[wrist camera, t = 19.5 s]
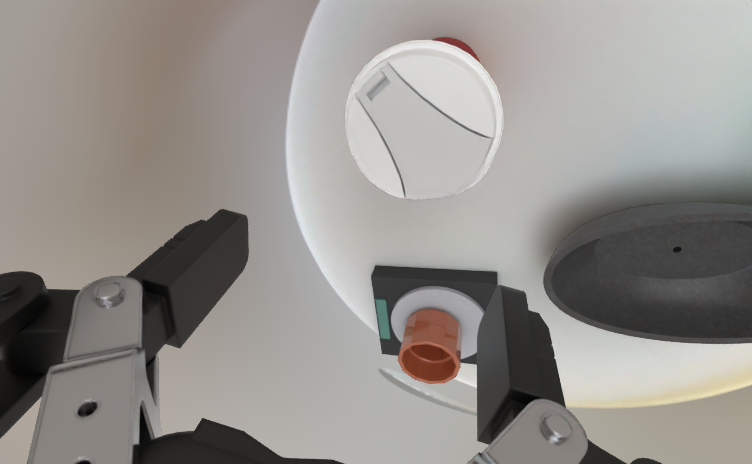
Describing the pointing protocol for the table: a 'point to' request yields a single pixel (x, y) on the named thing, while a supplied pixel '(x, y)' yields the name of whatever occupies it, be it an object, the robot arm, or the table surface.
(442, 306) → the scale
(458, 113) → the coffee cup
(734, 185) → the table surface
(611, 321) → the bowl
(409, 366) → the small bowl
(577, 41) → the table surface
